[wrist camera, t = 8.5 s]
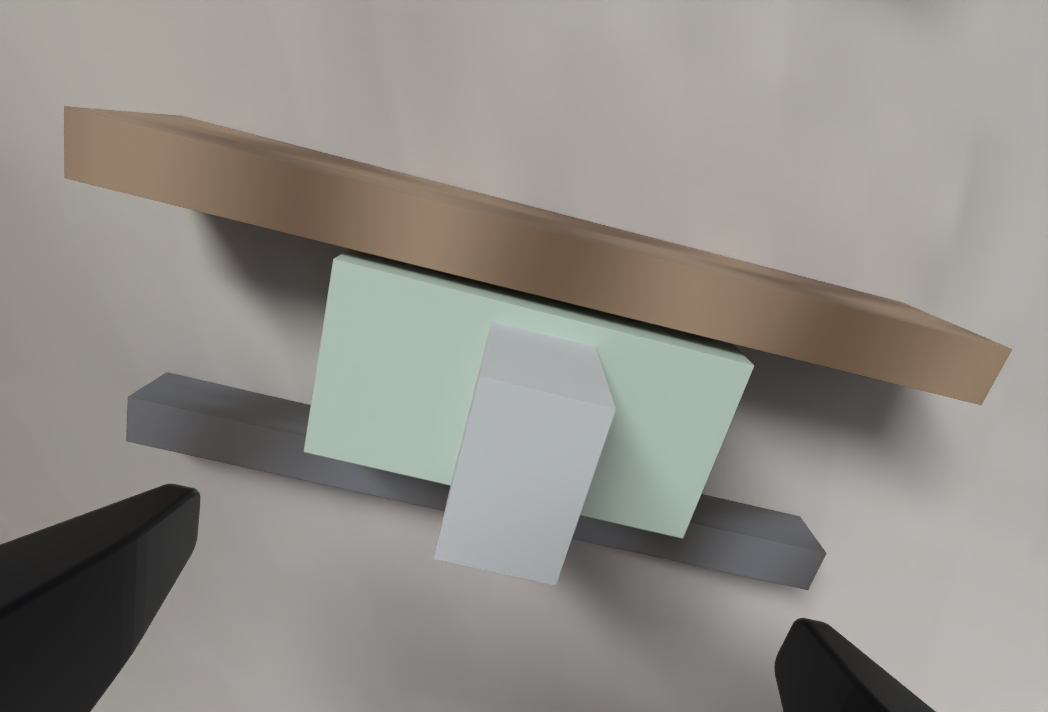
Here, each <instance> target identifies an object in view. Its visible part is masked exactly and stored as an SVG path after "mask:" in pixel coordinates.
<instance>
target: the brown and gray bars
mask: <svg viewBox="0 0 1048 712" xmlns="http://www.w3.org/2000/svg"><path fill="white" fill-rule="evenodd" d="M64 174H65V178H66V179H70V180H74V181H78V182H83V183H87V184H91V185H95V186H99V187H103V188H107V189H111V190H115V191H119V192H123V193H127V194H131V195H135V196H139V197H143V198H147V199H151V200H155V201H159V202H163V203H167V204H171V205H175V206H179V207H183V208H187V209H191V210H196V211H200V212H204V213H208V214H212V215H216V216H220V217H224V218H228V219H232V220H236V221H240V222H244V223H248V224H252V225H256V226H260V227H264V228H268V229H272V230H276V231H280V232H284V233H288V234H292V235H296V236H300V237H305V238H309V239H313V240H317V241H321V242H325V243H329V244H333V245H337V246H341V247H345V248H349V249H353V250H357V251H361V252H365V253H369V254H373V255H377V256H381V257H385V258H389V259H393V260H397V261H401V262H405V263H409V264H413V265H418V266H422V267H426V268H430V269H434V270H438V271H442V272H446V273H450V274H454V275H458V276H462V277H466V278H470V279H474V280H478V281H482V282H486V283H490V284H494V285H498V286H502V287H506V288H510V289H514V290H518V291H522V292H526V293H531V294H535V295H539V296H543V297H547V298H551V299H555V300H559V301H563V302H567V303H571V304H575V305H579V306H583V307H587V308H591V309H595V310H599V311H603V312H607V313H611V314H615V315H619V316H623V317H627V318H631V319H635V320H640V321H644V322H648V323H652V324H656V325H660V326H664V327H668V328H672V329H676V330H680V331H684V332H688V333H692V334H696V335H700V336H704V337H708V338H712V339H716V340H720V341H724V342H728V343H732V344H736V345H740V346H744V347H748V348H753V349H757V350H761V351H765V352H769V353H773V354H777V355H781V356H785V357H789V358H793V359H797V360H801V361H805V362H809V363H813V364H817V365H821V366H825V367H829V368H833V369H837V370H841V371H845V372H849V373H853V374H857V375H862V376H866V377H870V378H874V379H878V380H882V381H886V382H890V383H894V384H898V385H902V386H906V387H910V388H914V389H918V390H922V391H926V392H930V393H934V394H938V395H942V396H946V397H950V398H954V399H958V400H962V401H966V402H970V403H975V404H979V405H982V403H983V401H984V399H985V398H986V396H987V394H988V392H989V390H990V389H991V387H992V385H993V383H994V381H995V380H996V378H997V376H998V374H999V372H1000V370H1001V369H1002V367H1003V365H1004V363H1005V361H1006V360H1007V358H1008V356H1009V354H1010V352H1011V351H1012V349H1011V348H1008V347H1006V346H1003V345H1001V344H999V343H996V342H994V341H992V340H989V339H987V338H985V337H982V336H980V335H978V334H975V333H973V332H971V331H968V330H966V329H963V328H961V327H959V326H956V325H954V324H952V323H949V322H947V321H945V320H942V319H940V318H938V317H935V316H933V315H931V314H928V313H926V312H923V311H921V310H919V309H916V308H914V307H912V306H909V305H907V304H905V303H902V302H899V301H895V300H891V299H887V298H883V297H879V296H875V295H872V294H868V293H864V292H860V291H856V290H852V289H848V288H845V287H841V286H837V285H833V284H829V283H825V282H821V281H817V280H814V279H810V278H806V277H802V276H798V275H794V274H790V273H787V272H783V271H779V270H775V269H771V268H767V267H763V266H759V265H756V264H752V263H748V262H744V261H740V260H736V259H732V258H729V257H725V256H721V255H717V254H713V253H709V252H705V251H701V250H698V249H694V248H690V247H686V246H682V245H678V244H674V243H671V242H667V241H663V240H659V239H655V238H651V237H647V236H643V235H640V234H636V233H632V232H628V231H624V230H620V229H616V228H613V227H609V226H605V225H601V224H597V223H593V222H589V221H585V220H582V219H578V218H574V217H570V216H566V215H562V214H558V213H555V212H551V211H547V210H543V209H539V208H535V207H531V206H527V205H524V204H520V203H516V202H512V201H508V200H504V199H500V198H497V197H493V196H489V195H485V194H481V193H477V192H473V191H469V190H466V189H462V188H458V187H454V186H450V185H446V184H442V183H439V182H435V181H431V180H427V179H423V178H419V177H415V176H411V175H408V174H404V173H400V172H396V171H392V170H388V169H384V168H380V167H377V166H373V165H369V164H365V163H361V162H357V161H353V160H350V159H346V158H342V157H338V156H334V155H330V154H326V153H322V152H319V151H315V150H311V149H307V148H303V147H299V146H295V145H292V144H288V143H284V142H280V141H276V140H272V139H268V138H264V137H261V136H257V135H253V134H249V133H245V132H241V131H237V130H234V129H230V128H226V127H222V126H218V125H214V124H210V123H206V122H203V121H199V120H195V119H191V118H187V117H183V116H176V115H164V114H152V113H139V112H127V111H115V110H103V109H90V108H78V107H66V106H64ZM310 408H311V405H307V404H303V403H298V402H294V401H289V400H285V399H281V398H276V397H272V396H267V395H263V394H259V393H254V392H250V391H245V390H241V389H237V388H232V387H228V386H224V385H219V384H215V383H210V382H206V381H202V380H197V379H193V378H188V377H184V376H180V375H175V374H171V373H165V374H164V375H162V376H160V377H159V378H157V379H156V380H154V381H152V382H151V383H149V384H148V385H146V386H144V387H143V388H141V389H140V390H138V391H136V392H135V393H133V394H132V395H130V396H128V406H127V436H126V441H128V442H132V443H137V444H141V445H146V446H150V447H155V448H160V449H164V450H169V451H173V452H178V453H183V454H187V455H192V456H196V457H201V458H205V459H210V460H215V461H219V462H224V463H228V464H233V465H237V466H242V467H247V468H251V469H256V470H260V471H265V472H269V473H274V474H279V475H283V476H288V477H292V478H297V479H302V480H306V481H311V482H315V483H320V484H324V485H329V486H334V487H338V488H343V489H347V490H352V491H356V492H361V493H366V494H370V495H375V496H379V497H384V498H389V499H393V500H398V501H402V502H407V503H411V504H416V505H421V506H425V507H430V508H434V509H439V510H443V511H445V507H446V503H447V499H448V494H449V490H450V486H451V485H447V484H442V483H438V482H434V481H429V480H425V479H420V478H416V477H412V476H407V475H403V474H399V473H394V472H390V471H385V470H381V469H377V468H372V467H368V466H364V465H359V464H355V463H350V462H346V461H342V460H337V459H333V458H328V457H324V456H320V455H315V454H311V453H307V452H304V447H305V440H306V434H307V427H308V421H309V414H310ZM572 539H576V540H581V541H585V542H590V543H595V544H599V545H604V546H608V547H613V548H617V549H622V550H627V551H631V552H636V553H640V554H645V555H649V556H654V557H659V558H663V559H668V560H672V561H677V562H682V563H686V564H691V565H695V566H700V567H704V568H709V569H714V570H718V571H723V572H727V573H732V574H736V575H741V576H746V577H750V578H755V579H759V580H764V581H768V582H773V583H778V584H782V585H787V586H791V587H796V588H801V589H805V590H808V589H809V587H810V585H811V583H812V581H813V579H814V577H815V575H816V573H817V571H818V569H819V567H820V565H821V563H822V561H823V559H824V557H825V555H826V552H825V550H824V549H823V548H822V546H821V545H820V544H819V542H818V541H817V539H816V538H815V537H814V535H813V534H812V533H811V531H810V530H809V528H808V527H807V526H806V524H805V523H804V522H803V520H802V519H801V517H799V516H795V515H790V514H786V513H781V512H777V511H773V510H768V509H764V508H759V507H755V506H751V505H746V504H742V503H737V502H733V501H729V500H724V499H720V498H716V497H711V496H707V495H702V494H701V496H700V498H699V501H698V503H697V506H696V508H695V511H694V513H693V515H692V518H691V520H690V523H689V525H688V527H687V530H686V532H685V535H684V537H683V538H679V537H674V536H670V535H666V534H661V533H657V532H653V531H648V530H644V529H639V528H635V527H631V526H626V525H622V524H618V523H613V522H609V521H604V520H600V519H596V518H591V517H587V516H582V515H580V516H579V519H578V522H577V525H576V528H575V531H574V534H573V537H572Z"/></svg>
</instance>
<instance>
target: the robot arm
mask: <svg viewBox="0 0 1048 712" xmlns="http://www.w3.org/2000/svg"><path fill="white" fill-rule="evenodd" d="M199 511H200V493H199V492H198V491H197V490H196V489H195V488H190V487H185V486H181V485H176V484H166V485H162V486H160V487H157V488H154V489H151V490H149V491H146V492H143V493H141V494H138V495H135V496H132V497H130V498H127V499H124V500H121V501H119V502H116V503H113V504H110V505H108V506H105V507H102V508H99V509H97V510H94V511H91V512H89V513H86V514H83V515H80V516H78V517H75V518H72V519H69V520H67V521H64V522H61V523H58V524H56V525H53V526H50V527H47V528H45V529H42V530H39V531H36V532H34V533H31V534H28V535H26V536H23V537H20V538H17V539H15V540H12V541H9V542H6V543H4V544H1V545H0V712H90V711H91V710H92V709H93V707H94V706H95V705H96V703H97V702H98V701H99V699H100V698H101V697H102V695H103V694H104V692H105V691H106V690H107V688H108V687H109V686H110V684H111V683H112V682H113V680H114V679H115V677H116V676H117V675H118V673H119V672H120V671H121V669H122V668H123V666H124V665H125V664H126V662H127V661H128V659H129V658H130V656H131V655H132V654H133V652H134V650H135V649H136V647H137V646H138V644H139V642H140V641H141V639H142V637H143V636H144V634H145V632H146V631H147V629H148V627H149V626H150V624H151V622H152V621H153V619H154V617H155V615H156V614H157V612H158V610H159V609H160V607H161V605H162V604H163V602H164V600H165V598H166V597H167V595H168V593H169V592H170V590H171V588H172V587H173V585H174V583H175V582H176V580H177V578H178V576H179V575H180V573H181V571H182V570H183V568H184V566H185V565H186V563H187V561H188V559H189V558H190V556H191V554H192V552H193V550H194V547H195V545H196V541H197V535H198V523H199ZM775 677H776V681H777V685H778V690H779V694H780V698H781V703H782V707H783V712H935V711H934V710H933V709H932V708H930V707H929V706H928V705H927V704H926V703H924V702H923V701H922V700H921V699H919V698H918V697H917V696H916V695H915V694H913V693H912V692H911V691H910V690H908V689H907V688H906V687H905V686H903V685H902V684H901V683H900V682H899V681H897V680H896V679H895V678H894V677H892V676H891V675H890V674H889V673H887V672H886V671H885V670H884V669H883V668H881V667H880V666H879V665H878V664H876V663H875V662H874V661H873V660H871V659H870V658H869V657H868V656H867V655H865V654H864V653H863V652H862V651H860V650H859V649H858V648H857V647H855V646H854V645H853V644H852V643H851V642H849V641H848V640H847V639H846V638H844V637H843V636H842V635H841V634H840V633H838V632H837V631H836V630H835V629H833V628H832V627H831V626H830V625H828V624H826V623H824V622H821V621H816V620H811V619H806V618H799V619H797V620H796V621H795V622H794V623H793V625H792V626H791V628H790V630H789V632H788V634H787V636H786V638H785V640H784V642H783V644H782V646H781V648H780V650H779V652H778V654H777V657H776V660H775Z"/></svg>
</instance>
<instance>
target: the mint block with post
mask: <svg viewBox="0 0 1048 712" xmlns="http://www.w3.org/2000/svg"><path fill="white" fill-rule="evenodd" d="M753 368H754V365H753V364H752V363H751V362H750V361H749V360H748V359H747V358H746V357H745V356H744V355H743V354H742V353H741V352H740V351H739V350H738V349H737V348H736V347H735V346H734V345H733V344H732V343H728V342H724V341H720V340H716V339H712V338H708V337H704V336H700V335H696V334H692V333H688V332H684V331H680V330H676V329H672V328H668V327H664V326H660V325H656V324H652V323H648V322H644V321H640V320H635V319H631V318H627V317H623V316H619V315H615V314H611V313H607V312H603V311H599V310H595V309H591V308H587V307H583V306H579V305H575V304H571V303H567V302H563V301H559V300H555V299H551V298H547V297H543V296H539V295H535V294H531V293H526V292H522V291H518V290H514V289H510V288H506V287H502V286H498V285H494V284H490V283H486V282H482V281H478V280H474V279H470V278H466V277H462V276H458V275H454V274H450V273H446V272H442V271H438V270H434V269H430V268H426V267H422V266H418V265H413V264H409V263H405V262H401V261H397V260H393V259H389V258H385V257H381V256H377V255H373V254H369V253H365V252H361V251H357V250H353V249H349V250H348V251H346V252H344V253H343V254H341V255H339V256H337V257H336V258H334V259H333V264H332V271H331V277H330V284H329V290H328V297H327V303H326V310H325V316H324V323H323V329H322V336H321V342H320V349H319V355H318V362H317V368H316V375H315V382H314V388H313V395H312V401H311V408H310V414H309V421H308V427H307V434H306V440H305V447H304V452H307V453H311V454H315V455H320V456H324V457H328V458H333V459H337V460H342V461H346V462H350V463H355V464H359V465H364V466H368V467H372V468H377V469H381V470H385V471H390V472H394V473H399V474H403V475H407V476H412V477H416V478H420V479H425V480H429V481H434V482H438V483H442V484H447V485H451V486H450V490H449V494H448V499H447V503H446V507H445V512H444V516H443V520H442V525H441V529H440V533H439V538H438V542H437V546H436V551H435V555H434V559H436V560H440V561H445V562H449V563H454V564H459V565H463V566H468V567H472V568H477V569H482V570H486V571H491V572H495V573H500V574H504V575H509V576H514V577H518V578H523V579H527V580H532V581H536V582H541V583H546V584H550V585H555V586H556V584H557V581H558V578H559V575H560V572H561V569H562V566H563V563H564V560H565V557H566V554H567V551H568V549H569V546H570V543H571V540H572V537H573V534H574V531H575V528H576V525H577V522H578V519H579V516H580V515H582V516H587V517H591V518H596V519H600V520H604V521H609V522H613V523H618V524H622V525H626V526H631V527H635V528H639V529H644V530H648V531H653V532H657V533H661V534H666V535H670V536H674V537H679V538H683V537H684V535H685V532H686V530H687V527H688V525H689V523H690V520H691V518H692V515H693V513H694V511H695V508H696V506H697V503H698V501H699V498H700V496H701V494H702V491H703V489H704V486H705V484H706V482H707V479H708V477H709V474H710V472H711V469H712V467H713V465H714V462H715V460H716V457H717V455H718V452H719V450H720V448H721V445H722V443H723V440H724V438H725V436H726V433H727V431H728V428H729V426H730V423H731V421H732V419H733V416H734V414H735V411H736V409H737V406H738V404H739V402H740V399H741V397H742V394H743V392H744V390H745V387H746V385H747V382H748V380H749V377H750V375H751V373H752V370H753Z"/></svg>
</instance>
